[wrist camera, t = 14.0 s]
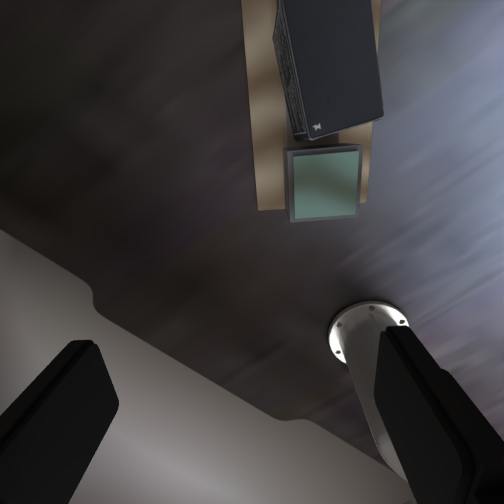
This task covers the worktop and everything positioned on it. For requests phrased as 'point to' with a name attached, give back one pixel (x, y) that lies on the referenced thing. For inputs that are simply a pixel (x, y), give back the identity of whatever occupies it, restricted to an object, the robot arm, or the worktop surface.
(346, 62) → the small box
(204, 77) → the worktop surface
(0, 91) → the worktop surface
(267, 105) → the rail board
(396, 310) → the robot arm
